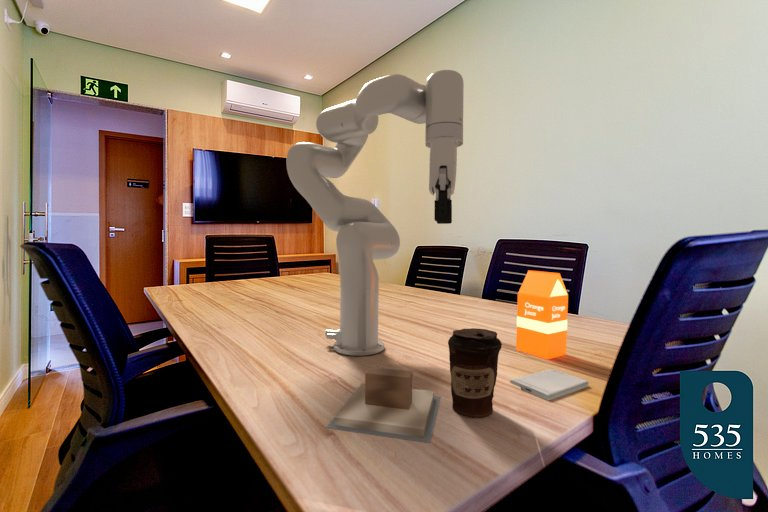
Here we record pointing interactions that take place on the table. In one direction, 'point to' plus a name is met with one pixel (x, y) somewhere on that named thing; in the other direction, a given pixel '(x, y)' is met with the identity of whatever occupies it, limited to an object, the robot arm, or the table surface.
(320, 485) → the table surface
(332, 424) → the mat
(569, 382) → the hard drive
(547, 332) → the orange juice
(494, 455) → the table surface
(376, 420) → the lid
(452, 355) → the coffee cup
